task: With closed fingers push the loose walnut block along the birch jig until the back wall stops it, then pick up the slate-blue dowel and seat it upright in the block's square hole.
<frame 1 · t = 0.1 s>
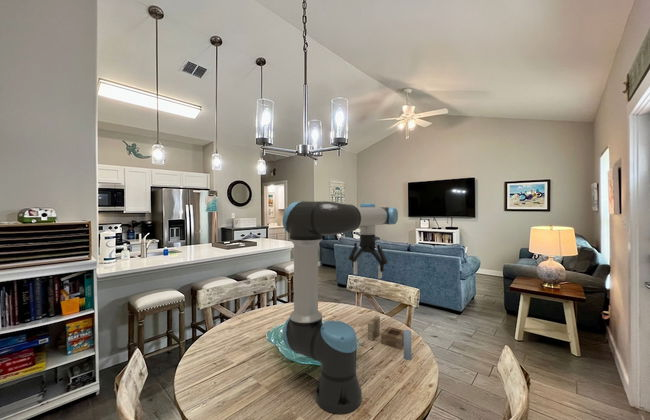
hand: (367, 276, 139), 28 cm above the table, fingers open, 13 cm apart
block: (394, 337, 125), point 3 cm above the table, slide at 0.0 cm
dowel: (407, 360, 112), on the table
jig: (387, 342, 127), on the table
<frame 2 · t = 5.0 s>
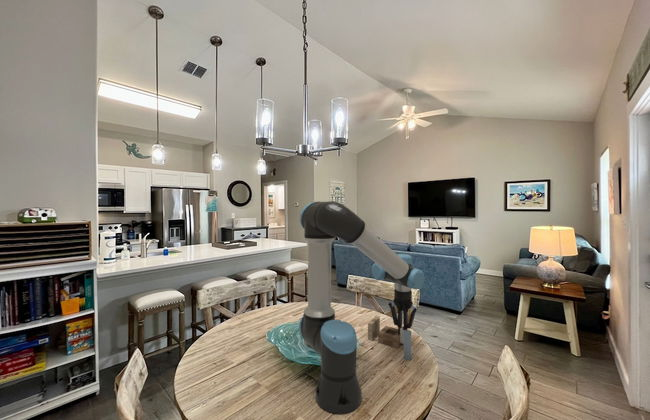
hand: (402, 342, 123), 2 cm above the table, fingers closed
block: (391, 336, 126), point 3 cm above the table, slide at 1.4 cm, touching gripper
everything else where it was.
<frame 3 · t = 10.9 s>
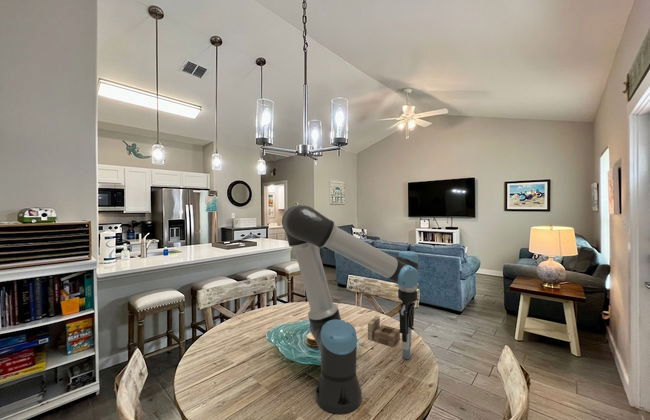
hand: (406, 347, 112), 6 cm above the table, fingers closed on dowel, 3 cm apart
block: (387, 335, 127), point 3 cm above the table, slide at 3.4 cm
dowel: (406, 357, 112), point 1 cm above the table, touching gripper
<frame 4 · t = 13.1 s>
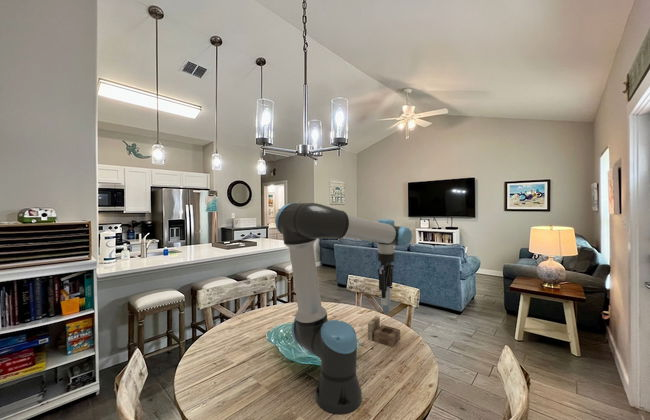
hand: (385, 303, 127), 18 cm above the table, fingers closed on dowel, 3 cm apart
dowel: (386, 312, 127), point 14 cm above the table, touching gripper
everything else where it was.
when the fingers open (7 cm above the table, at t = 15.7 s): dowel drops 2 cm, resting on jig.
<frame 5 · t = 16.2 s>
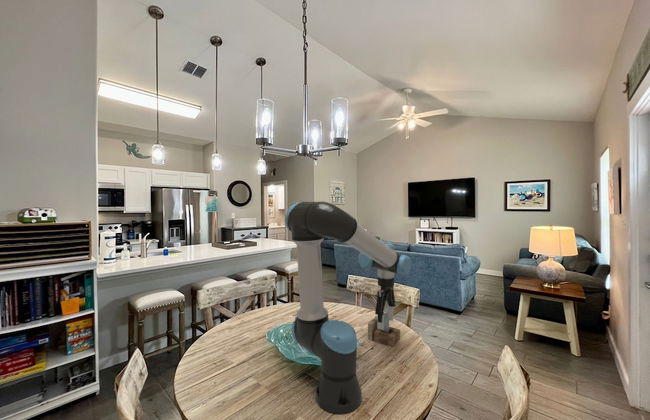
hand: (385, 324, 128), 8 cm above the table, fingers open, 11 cm apart
dowel: (385, 340, 128), point 1 cm above the table, touching jig
everything else where it was.
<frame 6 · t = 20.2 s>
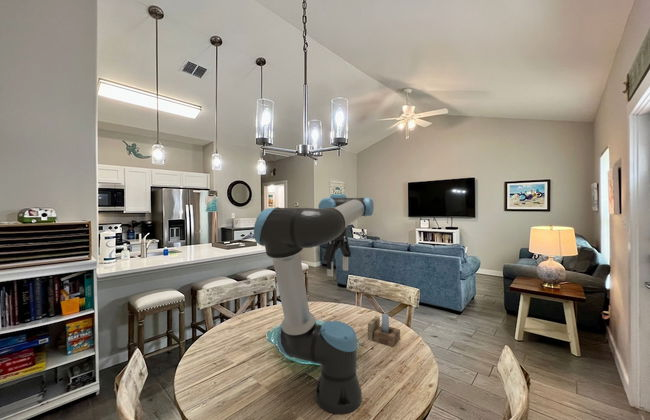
hand: (338, 273, 128), 32 cm above the table, fingers open, 13 cm apart
nothing on the table moved.
at the end: block slide at 3.4 cm; dowel 0.7 cm off-centre on the block, point 0.0 cm above the block's base; dowel tilted 1° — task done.
